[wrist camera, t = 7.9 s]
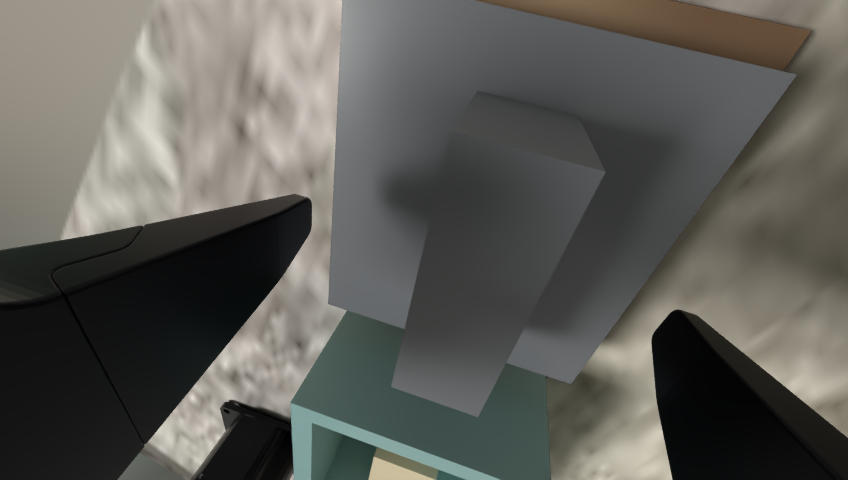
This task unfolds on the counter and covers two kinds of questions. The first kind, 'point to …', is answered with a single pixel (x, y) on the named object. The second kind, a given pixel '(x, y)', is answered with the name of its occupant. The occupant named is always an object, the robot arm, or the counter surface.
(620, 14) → the walnut board
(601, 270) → the lid
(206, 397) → the counter surface
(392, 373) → the storage box
